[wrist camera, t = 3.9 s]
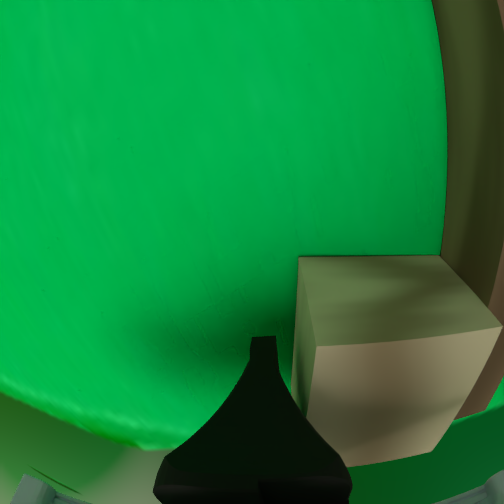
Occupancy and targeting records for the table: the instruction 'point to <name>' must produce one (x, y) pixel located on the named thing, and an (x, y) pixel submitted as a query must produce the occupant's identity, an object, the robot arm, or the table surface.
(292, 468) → the robot arm
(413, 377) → the beech block
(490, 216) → the walnut board
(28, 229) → the table surface
